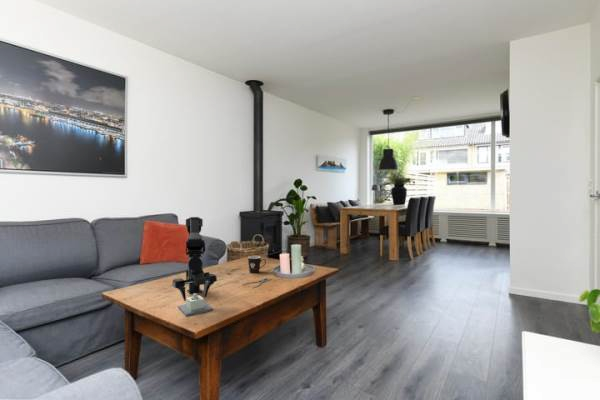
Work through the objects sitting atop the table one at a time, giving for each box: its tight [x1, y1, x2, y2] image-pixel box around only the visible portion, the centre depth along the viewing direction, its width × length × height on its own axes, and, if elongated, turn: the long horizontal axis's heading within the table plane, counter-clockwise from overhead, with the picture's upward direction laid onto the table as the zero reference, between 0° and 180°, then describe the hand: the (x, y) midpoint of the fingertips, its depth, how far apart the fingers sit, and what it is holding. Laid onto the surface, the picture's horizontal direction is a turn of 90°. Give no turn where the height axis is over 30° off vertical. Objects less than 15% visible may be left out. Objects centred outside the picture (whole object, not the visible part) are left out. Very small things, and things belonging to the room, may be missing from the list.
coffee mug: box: [247, 255, 267, 274], centre depth 211 cm, size 12×9×10 cm
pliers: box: [241, 277, 272, 289], centre depth 188 cm, size 10×1×20 cm
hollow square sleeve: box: [186, 295, 205, 310], centre depth 145 cm, size 6×6×4 cm
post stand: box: [177, 292, 214, 317], centre depth 145 cm, size 12×12×7 cm
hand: (195, 299), depth 145 cm, fingers open, 9 cm apart
